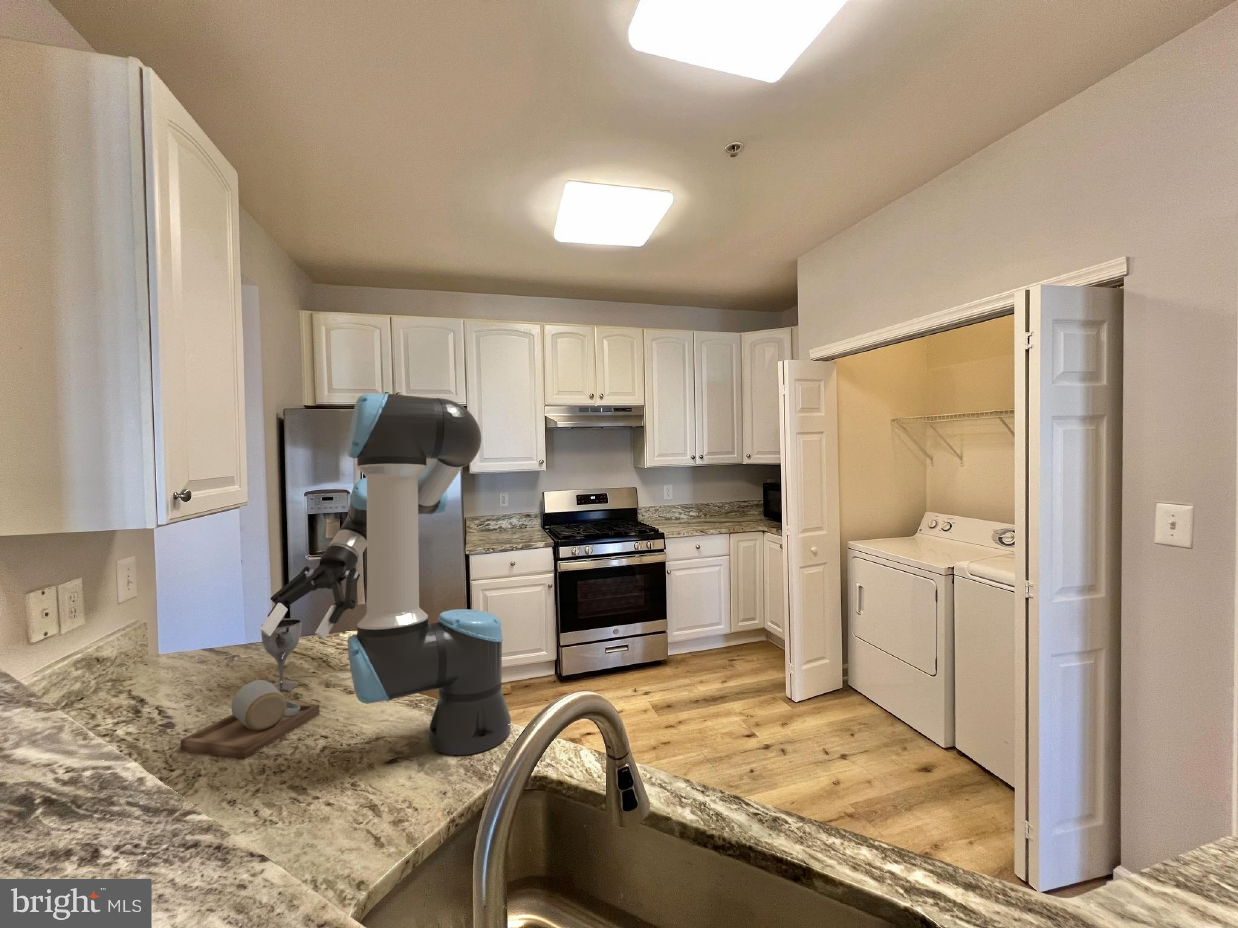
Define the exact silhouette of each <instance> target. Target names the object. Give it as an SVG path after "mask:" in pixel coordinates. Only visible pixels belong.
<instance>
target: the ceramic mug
mask: <svg viewBox="0 0 1238 928" xmlns="http://www.w3.org/2000/svg"><path fill="white" fill-rule="evenodd" d="M296 703H297V702H295V703H293V701H289V700H286V697H285V696H284V694H283V693H282V692H280V691H279V690H278V689H277V688H276V687H275V686H274V685H273V683H272V682H270V681H268V680H263V679H257V680H254V681H251V682H248V683H247V684H244V685H243V686H242V687H240V688H239V689H238V691H237V692H236V693H235V695H234V696H233V698H232V701H231V707H230V709H231V712H232V714H233V715H234V716H235V717H236V718H237V719H238V720H239V721H241V722H242V723H243V724H244V725H245V726H246V727H247V728H249V729H252V730H265V729H268V728H270V727H272V726H274V725H275V724H276V723H278V722H279V721H280V719H281V718H282V717H283V716H285V717H294V716H296V715H297V714H298V712H299V710H300V706H299V705H298V704H296Z"/></svg>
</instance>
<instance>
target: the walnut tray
mask: <svg viewBox="0 0 1238 928" xmlns="http://www.w3.org/2000/svg"><path fill="white" fill-rule="evenodd" d="M292 702H293V701H292ZM293 703H296V704H298V705H299V706H300V710H299V712H298V714H297V715H296V716H294V717H285V716H283V717H282V718H281V719H280V721H279V722H278V723H276V724H275V725H274V726H272V727H270V728H268V729H265V730H252V729H249V728H247V727H246V726H245V725H244V724H243V723H242V722H241V721H239V720H238V719H237V718H236V717H235V716H234V715H233V713H232V714H230V715H228V716H226V717H224V718H222V719H221V720H219V721H216V722H214V723H211V724H210V725H208V726H206V727H204V728H201V729H200V730H197V731H195V732H193V733H191V734H190V735H187V736H186V737H184V738H181V739H180V752H186V753H187V752H188V753H194V754H200V755H201V754H202V755H211V756H217V757H224V758H225V757H226V758H232V759H233V758H234V759H241V760H246V759H247V758H249V757H251V756H252V755H255V754H256V753H257V752H259V751H260V750H259V749H261V748H263V747H264V746H266V745H268V744H269V743H271V742H273V741H274V740H276V739H278V738H279V739H281V738H282V736H283V737H284V736H286V735H287V734H286V733H288V734H290V733H291V732H293V731H295V730H296V729H298V728H300V727H301V726H302V725H304V723H305V724H306V723H308V722H309V721H311V720H313V719H315V718H317V717H318V716H320V714H321V713H320V710H321V709H320V708H321V705H320V704H313V703H303V702H293ZM299 726H300V727H299ZM295 728H296V729H295ZM294 729H295V730H294ZM292 730H293V731H292ZM290 731H291V732H290ZM285 734H286V735H285ZM280 737H281V738H280ZM279 739H278V740H279ZM276 741H277V740H276ZM274 742H275V741H274ZM274 742H273V743H274ZM271 744H272V743H271ZM269 745H270V744H269ZM269 745H268V746H269ZM266 747H267V746H266ZM264 748H265V747H264ZM264 748H263V749H264ZM258 750H259V751H258ZM261 750H262V749H261ZM256 751H257V752H256ZM255 752H256V753H255Z"/></svg>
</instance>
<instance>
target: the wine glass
mask: <svg viewBox="0 0 1238 928" xmlns="http://www.w3.org/2000/svg"><path fill="white" fill-rule="evenodd" d="M262 626H263V624H261V627H262ZM261 627H260V628H261ZM260 633H261V634H260V636H261V641H262V646H263V649H264V651H266V653H268V654H269V655H270V656H271V657H272V658H273V659H274V660H275V661H276V663H277V665H278V675H279V676H278V677H279V678H278V681H277V682H273V683H272V684H273V685H274V686H275V687H276V688H277V689H278V690H279V691H280V692H281V693H282V692H283V691H284V692H287V691H290V690H292V688H293V689H295V688H297V687H298V686H299V684H300V682H299V681H298V680H292V679H291V680H284V668H285V663H286V660H287V658H288V657H289V656H290V655H291V653H293V651H294V650H295V649H296V648H297V646H298V644H299V642H300V640H301V639H300V638H301V633H302V619H300V618H294V617H293V618H292V617H291V618H282V619H281V621H280V622H279V624H278V625H277V627H276V628H275V630H274V631H273V633H272V634H271V636H267V635H265V634H264V633H263V632H262V631H261V630H260Z"/></svg>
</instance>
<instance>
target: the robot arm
mask: <svg viewBox="0 0 1238 928" xmlns="http://www.w3.org/2000/svg"><path fill="white" fill-rule="evenodd" d="M347 443H348V444H347V445H348V446H347V455H348V457H349V458H352V459H356V461H357V462H356V466H357V470H359V471H360V472H361V474H362V475H364V476H365V477H364V478H361V479H358V481H357V482H355V484H354V486H353V488H352V491H351V493H350V495H349V496H350V497H349V499H350V501H349V506H348V507H349V508H348V511H347V517H346V518H345V520H344V522H343V524H342V525H341V527H340V528H339V530H338V531H337V533H336V535H335V536H334V537H333V539H332V540H331V542H330V543H329V545H328V547H327V548H326V549H325V551H323V553H322V555H321V557H320V558H319V564H318V566H317V567H316V568H313V569H312V568H310V567H309V566H304V567H303V569H302V570H301V571H300V572H299V574H297V575H296V576H295V577H293V579H291V580H290V581H289V582H288V583H287V584H285V585H284V586H283V587H282V588H280V589H279V590H278V591H277V592H275V593H274V594H273V595H272V596H271V597H270V599H269V600H270V601H272V602H273V603H274V605H273V607H272V609H271V610H270V612H268V613H267V618H266V620H265V621H264V623H263V624H262V625H263V626H262V625H261V626H262V627H260V628H259V631H260V632H261V631H262V632H263V633H264V634H265V635H267V636H271V634H272V633H273V631H274V630H275V628H276V627H277V625H278V624H279V622H280V621H281V619H284V616H285V615H286V614H287V612H288V610H289V609H288V608H287V607H289V606H290V605H291V604H294V603H295V602H296V601H298V600H299V599H301V598H303V597H304V596H306V595H307V594H309V593H310V592H312V591H314V592H315V591H316V590H318V589H319V590H320V589H327V590H332V595H333V597H334V598H333V599H334V604H332V605H331V606H330V607H329V608H328V611H327V612H326V614H325V615H324V617H323V619H322V620H321V622H320V624H319V625H318V628H317V629H316V631H314V634H315V635H316V636H317V637H319V639H320V640H326V638H327V636H329V633H330V632H331V630H332V628H333V626H334V625H335V624H337V623H338V622H339V620H340V618H341V616H342V615H343V613H344V612H346V611H347V610H349V609H350V610H354V609H356V605H357V589H358V587H357V586H358V581H359V579H360V577H361V574H360V572H359V571H358V570H357V569H356V568H355V567H356V565H357V563H358V561H359V559H360V558H361V556H362V555H363V553H364V551H365V550H366V613H365V615H364V616H363V617H362V618H361V619H360V620H359V621H358V622H357V625H356V626H357V627H356V628H357V629H356V631H357V633H355V634H352V635H350V636H348V637H347V641H346V643H347V654H348V661H349V662H348V663H349V668H350V674H351V678H352V684H353V688H354V692H355V696H356V698H357V700H358V701H359V702H361V703H363V704H372V703H380V702H384V701H385V702H389V701H390V700H393V699H398V698H404V697H408V696H412V695H416V694H420V693H425V692H429V691H433V690H436V689H437V690H438V697H437V701H436V704H435V708H434V711H433V714H432V717H431V720H430V723H429V727H428V744H429V746H430V747H431V749H433V750H434V751H436V752H438V753H441V754H444V755H451V756H464V755H465V756H467V755H473V754H477V753H482V752H484V751H489V750H491V749H492V748H495V747H497V746H498V745H500V744H502V743H503V742H504V741H506V739H507V738H508V737H509V736H510V733H511V731H512V730H511V729H512V728H511V724H512V723H511V720H512V719H511V714H510V711H509V708H508V704H507V701H506V700H505V696H504V694H503V691H502V690H503V689H502V685H503V684H502V676H503V675H502V672H503V670H502V668H503V667H502V665H503V663H502V659H503V658H502V655H503V654H502V651H503V650H502V648H503V640H504V639H503V635H502V621H501V620H500V618H499V617H498V616H497V615H496V614H494V613H491V612H490V611H489V612H488V611H484V610H480V609H479V610H477V609H467V608H466V609H462V608H460V609H448V610H446V611H443V612H441V613H439V617H438V618H437V622H432V623H429V615H428V613H426V612H425V611H424V610H423V609H422V608H421V607H420V579H419V578H420V573H419V572H420V571H419V570H420V567H419V566H420V562H419V560H420V559H419V558H420V557H419V548H420V547H419V515H429V516H430V515H434V514H442V513H444V512H445V511H446V510H447V505H448V491H447V490H448V488H450V486H451V484H452V483H453V481H454V480H455V479H456V477H457V476H458V474H459V473H460V471H461V470H462V468H464V467H467V466H468V465H469V464H471V463H472V462H473V461H474V459H475V458H476V457H477V455H478V454H479V451H480V449H481V444H482V434H481V429H480V426H479V424H478V422H477V419H475V417H474V415H473V414H472V413H471V412H470V411H469V410H468V409H467V408H466V407H464V406H463V405H462V404H460V403H458V402H456V401H454V400H451V399H447V398H442V397H441V398H439V397H435V398H434V397H426V396H417V395H416V396H415V395H405V394H394V393H388V392H387V393H386V392H385V393H364V394H362V395H360V396H359V397H358V398H357V399H356V402H355V404H354V408H353V411H352V415H351V422H350V428H349V434H348V440H347ZM344 580H346V582H345V590H344V588H343V584H342V582H343V581H344ZM312 582H313V583H312ZM343 590H344V591H345V594H344V591H343ZM508 724H510V725H508Z"/></svg>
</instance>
